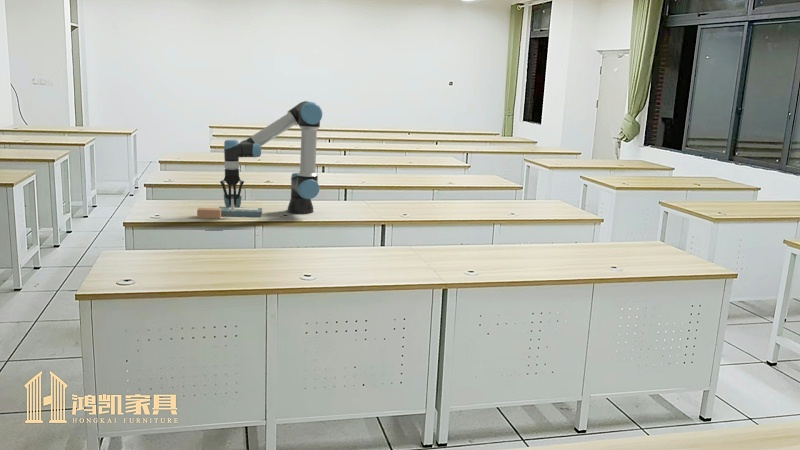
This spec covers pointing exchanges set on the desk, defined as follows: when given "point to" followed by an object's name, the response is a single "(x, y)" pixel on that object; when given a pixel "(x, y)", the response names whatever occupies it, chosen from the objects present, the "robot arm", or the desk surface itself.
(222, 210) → the blue-grey flat slab
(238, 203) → the flower pot
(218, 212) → the pink rectangular block
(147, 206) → the desk surface
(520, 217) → the desk surface
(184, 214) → the desk surface
